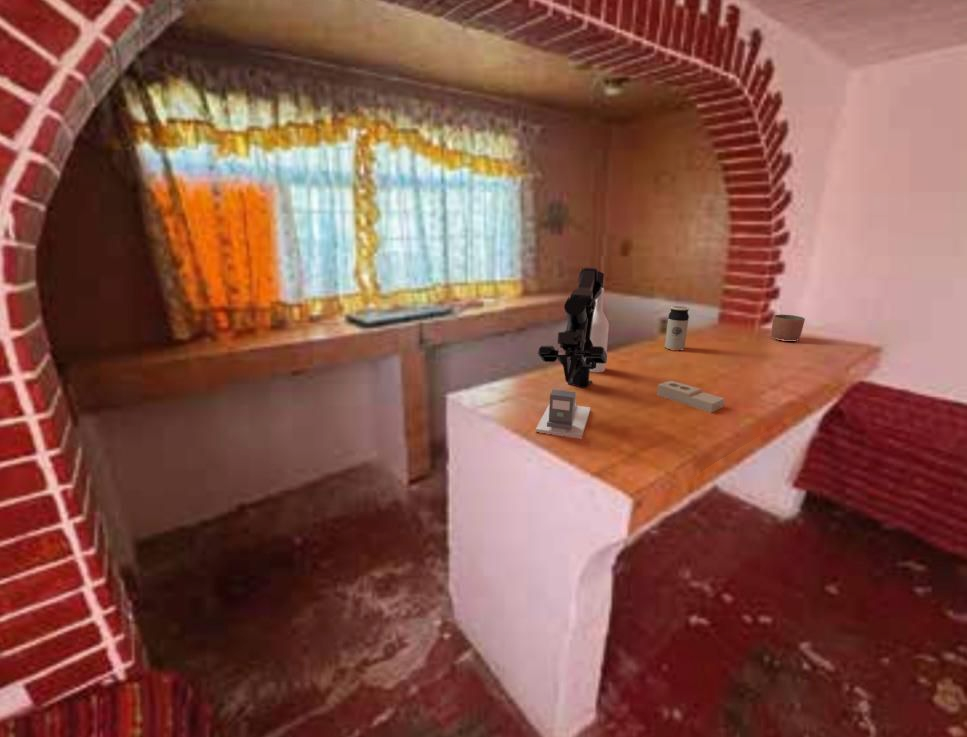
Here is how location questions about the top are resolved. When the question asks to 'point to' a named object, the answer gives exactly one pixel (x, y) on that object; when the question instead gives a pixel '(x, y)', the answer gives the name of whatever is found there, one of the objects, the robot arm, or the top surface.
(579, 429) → the rail plate
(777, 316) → the planter
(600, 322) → the bottle
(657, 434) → the top surface
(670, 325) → the travel mug
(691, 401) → the grey stepped block
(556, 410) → the plate
